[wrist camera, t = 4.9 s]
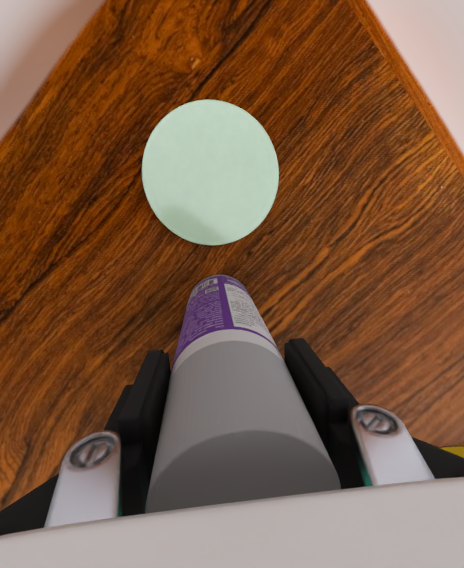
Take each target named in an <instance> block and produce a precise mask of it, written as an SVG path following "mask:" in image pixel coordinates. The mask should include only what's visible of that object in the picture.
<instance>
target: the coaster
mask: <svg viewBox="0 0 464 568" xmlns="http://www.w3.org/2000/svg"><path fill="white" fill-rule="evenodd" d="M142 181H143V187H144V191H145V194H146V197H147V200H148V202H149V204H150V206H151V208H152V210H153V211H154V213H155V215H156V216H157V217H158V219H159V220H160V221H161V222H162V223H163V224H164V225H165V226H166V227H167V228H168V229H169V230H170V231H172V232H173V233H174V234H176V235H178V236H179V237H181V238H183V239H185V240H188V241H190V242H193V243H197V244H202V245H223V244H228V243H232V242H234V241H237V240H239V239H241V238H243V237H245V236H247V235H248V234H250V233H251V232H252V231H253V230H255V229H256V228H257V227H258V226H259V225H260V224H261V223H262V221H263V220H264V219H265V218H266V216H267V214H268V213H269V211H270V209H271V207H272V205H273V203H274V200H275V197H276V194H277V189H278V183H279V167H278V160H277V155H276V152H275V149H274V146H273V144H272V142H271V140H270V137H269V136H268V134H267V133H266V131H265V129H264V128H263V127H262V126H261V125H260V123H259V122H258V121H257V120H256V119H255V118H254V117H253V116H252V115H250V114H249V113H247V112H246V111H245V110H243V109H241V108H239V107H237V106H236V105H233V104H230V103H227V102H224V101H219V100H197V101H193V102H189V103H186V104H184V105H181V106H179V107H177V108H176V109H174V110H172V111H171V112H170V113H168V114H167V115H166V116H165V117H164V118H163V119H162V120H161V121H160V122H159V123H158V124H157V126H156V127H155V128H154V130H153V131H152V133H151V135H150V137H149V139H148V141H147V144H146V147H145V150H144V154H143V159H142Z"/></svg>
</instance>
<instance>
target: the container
mask: <svg viewBox="0 0 464 568" xmlns="http://www.w3.org/2000/svg"><path fill="white" fill-rule="evenodd" d="M332 490H341V486H340V481H339V477H338V474H337V472H336V470H335V468H334V466H333V464H332V461H331V459H330V457H329V455H328V453H327V451H326V449H325V447H324V444H323V442H322V440H321V438H320V436H319V434H318V432H317V430H316V427H315V425H314V423H313V421H312V419H311V417H310V415H309V413H308V410H307V408H306V406H305V404H304V402H303V400H302V398H301V396H300V393H299V391H298V389H297V387H296V385H295V383H294V381H293V379H292V376H291V374H290V372H289V370H288V368H287V366H286V364H285V362H284V359H283V357H282V355H281V353H280V351H279V350H278V348H277V346H276V344H275V342H274V340H273V338H272V336H271V335H270V333H269V331H268V329H267V327H266V325H265V323H264V321H263V320H262V318H261V316H260V314H259V312H258V310H257V308H256V306H255V305H254V303H253V301H252V299H251V297H250V295H249V293H248V291H247V290H246V288H245V287H244V286H243V285H242V283H240V282H239V281H238V280H236V279H235V278H233V277H230V276H227V275H213V276H209V277H207V278H205V279H203V280H201V281H200V282H199V283H198V284H197V285H196V286H195V287H194V289H193V290H192V292H191V294H190V297H189V300H188V304H187V308H186V313H185V317H184V321H183V325H182V329H181V333H180V337H179V341H178V345H177V350H176V354H175V358H174V362H173V366H172V370H171V375H170V381H169V387H168V392H167V397H166V402H165V408H164V413H163V418H162V423H161V428H160V434H159V439H158V444H157V449H156V454H155V460H154V465H153V470H152V475H151V481H150V486H149V491H148V496H147V501H146V509H145V514H146V513H154V512H162V511H170V510H177V509H185V508H193V507H201V506H209V505H217V504H225V503H233V502H241V501H249V500H257V499H265V498H274V497H282V496H290V495H298V494H307V493H315V492H324V491H332Z"/></svg>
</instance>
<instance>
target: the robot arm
mask: <svg viewBox="0 0 464 568" xmlns="http://www.w3.org/2000/svg"><path fill="white" fill-rule="evenodd" d="M285 364H286V366H287V368H288V370H289V372H290V374H291V376H292V379H293V381H294V383H295V385H296V387H297V389H298V391H299V393H300V396H301V398H302V400H303V402H304V404H305V406H306V408H307V410H308V413H309V415H310V417H311V419H312V421H313V423H314V425H315V427H316V430H317V432H318V434H319V436H320V438H321V440H322V442H323V444H324V447H325V449H326V451H327V453H328V455H329V457H330V459H331V461H332V464H333V466H334V468H335V470H336V472H337V474H338V477H339V481H340V486H341V490H332V491H324V492H315V493H307V494H298V495H290V496H282V497H274V498H265V499H257V500H249V501H241V502H233V503H225V504H217V505H209V506H201V507H193V508H185V509H177V510H170V511H162V512H154V513H146V514H145V509H146V501H147V496H148V491H149V486H150V481H151V475H152V470H153V465H154V460H155V454H156V449H157V444H158V439H159V434H160V428H161V423H162V418H163V413H164V408H165V402H166V397H167V392H168V387H169V381H170V375H171V372H170V363H169V355H168V353H164V352H163V350H153V351H148V353H147V355H146V357H145V360H144V362H143V364H142V366H141V369H140V371H139V373H138V375H137V378H136V380H135V382H134V384H133V385H127V386H125V388H124V390H123V392H122V394H121V396H120V398H119V400H118V402H117V404H116V406H115V408H114V410H113V412H112V414H111V416H110V418H109V420H108V422H107V424H106V426H105V428H104V430H101V431H96V432H93V433H90V434H88V435H86V436H84V437H82V438H81V439H79V440H78V441H77V442H75V443H74V444H73V445H72V446H71V447H70V448H69V449H68V451H67V452H66V454H65V456H64V459H63V462H62V466H61V469H60V473H59V474H57V475H56V476H54V477H53V478H51V479H50V480H48V481H47V482H45V483H43V484H42V485H40V486H39V487H37V488H36V489H34V490H33V491H31V492H30V493H28V494H27V495H25V496H24V497H22V498H20V499H19V500H17V501H16V502H14V503H13V504H11V505H10V506H8V507H7V508H5V509H4V510H2V511H0V568H464V458H463V457H460V456H458V455H455V454H453V453H450V452H448V451H445V450H443V449H441V448H438V447H436V446H433V445H431V444H428V443H426V442H423V441H421V440H418V439H416V438H413V437H411V436H410V434H409V432H408V431H407V429H406V427H405V425H404V424H403V422H402V421H401V419H400V418H399V417H398V416H397V415H396V414H394V413H393V412H392V411H390V410H388V409H386V408H384V407H381V406H378V405H373V404H359V403H358V402H357V401H356V399H355V398H354V397H353V396H352V394H351V393H350V392H349V391H348V389H347V388H346V387H345V386H344V384H343V383H342V382H341V381H340V379H339V378H338V377H337V376H336V374H335V373H334V372H333V371H332V370H331V369H330V368H329V367H325V365H324V364H323V363H322V362H321V360H320V359H319V358H318V357H317V355H316V354H315V353H314V351H313V350H312V349H311V348H310V346H309V345H308V344H307V342H306V341H305V340H304V339H303V338H299V339H290V340H289V343H285Z"/></svg>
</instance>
